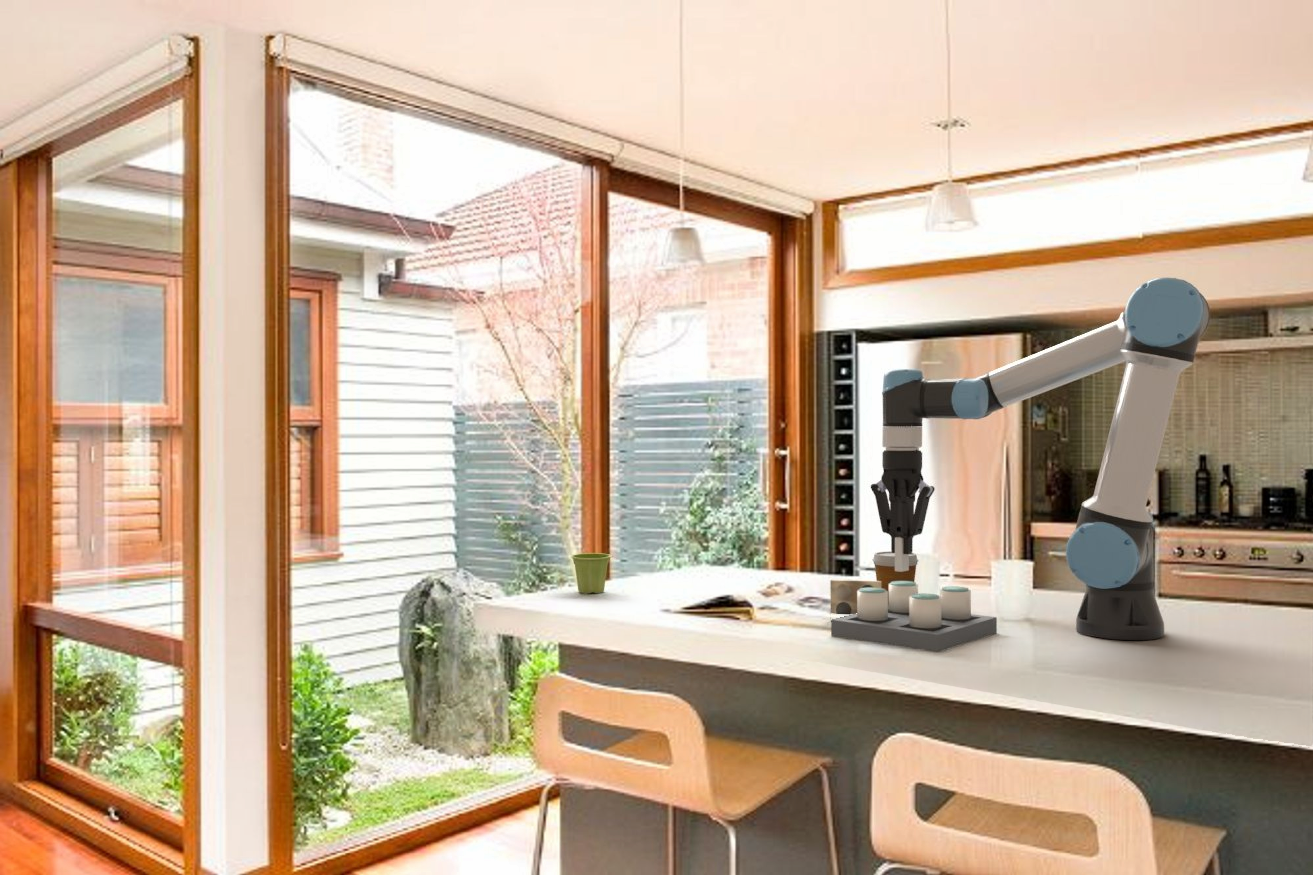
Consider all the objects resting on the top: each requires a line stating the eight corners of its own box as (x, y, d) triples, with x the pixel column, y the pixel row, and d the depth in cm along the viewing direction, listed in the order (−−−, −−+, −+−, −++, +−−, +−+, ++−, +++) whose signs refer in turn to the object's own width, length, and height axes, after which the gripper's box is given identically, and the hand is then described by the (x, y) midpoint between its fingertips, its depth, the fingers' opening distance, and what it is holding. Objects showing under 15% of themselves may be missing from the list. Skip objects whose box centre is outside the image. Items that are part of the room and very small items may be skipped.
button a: (976, 616, 202) (976, 587, 202) (961, 620, 198) (961, 591, 198) (949, 613, 206) (948, 585, 206) (934, 617, 202) (934, 588, 202)
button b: (923, 609, 210) (923, 582, 210) (908, 613, 206) (908, 585, 206) (898, 606, 214) (898, 579, 214) (883, 610, 210) (883, 582, 210)
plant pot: (618, 590, 259) (618, 554, 259) (596, 596, 251) (595, 558, 251) (587, 587, 264) (586, 552, 263) (563, 593, 256) (563, 556, 256)
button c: (947, 624, 194) (947, 595, 194) (931, 629, 190) (931, 599, 190) (919, 621, 198) (919, 592, 198) (903, 625, 194) (903, 595, 194)
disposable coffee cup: (919, 615, 222) (919, 556, 222) (872, 614, 224) (872, 556, 224) (918, 607, 231) (917, 551, 231) (872, 606, 233) (872, 550, 233)
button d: (893, 617, 202) (893, 589, 202) (877, 621, 198) (877, 592, 198) (867, 614, 206) (867, 586, 206) (851, 618, 202) (851, 589, 202)
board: (996, 633, 203) (996, 617, 202) (937, 652, 187) (937, 634, 187) (893, 619, 218) (893, 604, 218) (831, 635, 202) (831, 619, 202)
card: (881, 620, 216) (881, 581, 216) (881, 622, 215) (881, 581, 215) (831, 619, 218) (830, 579, 218) (830, 620, 217) (830, 580, 217)
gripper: (942, 449, 208) (941, 572, 208) (883, 448, 217) (882, 565, 217) (922, 450, 202) (921, 576, 203) (862, 448, 211) (862, 569, 212)
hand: (901, 570), depth 210 cm, fingers closed
